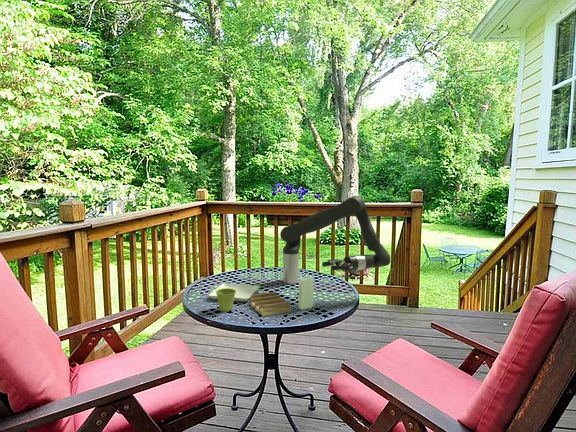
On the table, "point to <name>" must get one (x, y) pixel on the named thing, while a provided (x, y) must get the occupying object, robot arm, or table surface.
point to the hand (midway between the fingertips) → (327, 266)
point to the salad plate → (237, 291)
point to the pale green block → (306, 293)
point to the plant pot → (225, 298)
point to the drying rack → (269, 304)
